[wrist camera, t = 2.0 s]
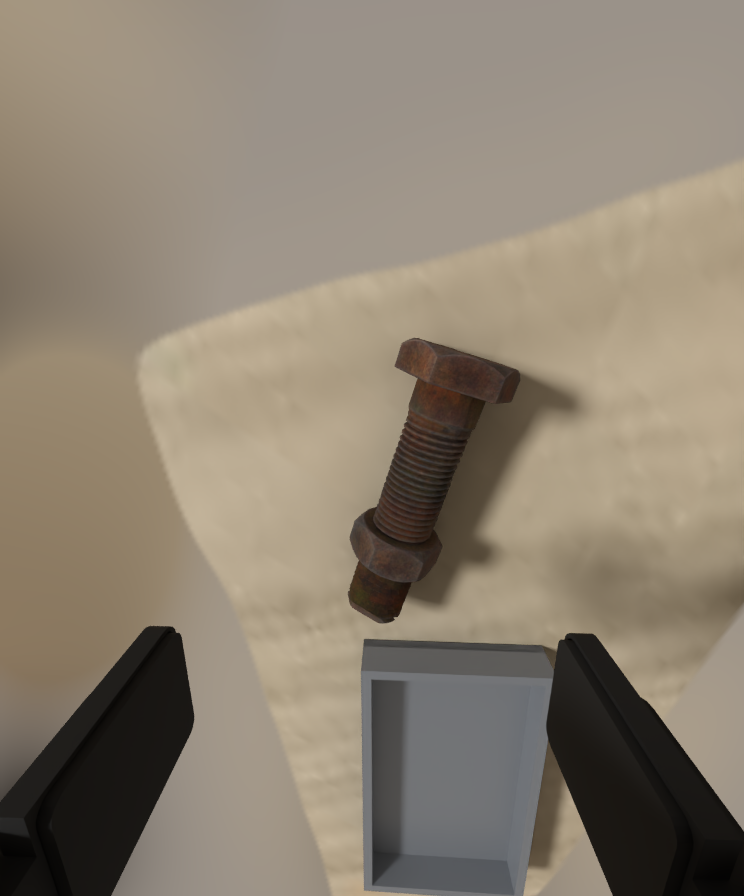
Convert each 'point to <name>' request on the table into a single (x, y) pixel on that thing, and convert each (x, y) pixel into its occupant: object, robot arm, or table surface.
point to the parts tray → (451, 765)
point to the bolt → (421, 472)
